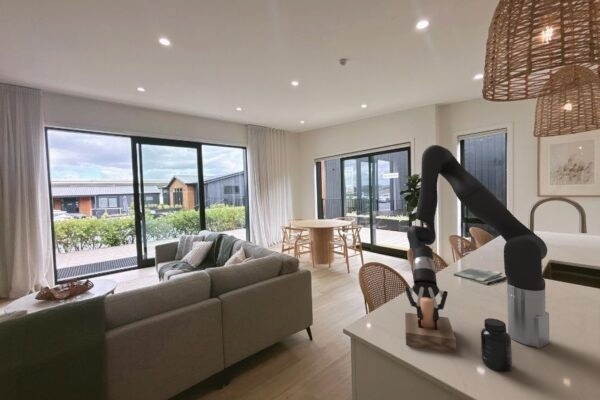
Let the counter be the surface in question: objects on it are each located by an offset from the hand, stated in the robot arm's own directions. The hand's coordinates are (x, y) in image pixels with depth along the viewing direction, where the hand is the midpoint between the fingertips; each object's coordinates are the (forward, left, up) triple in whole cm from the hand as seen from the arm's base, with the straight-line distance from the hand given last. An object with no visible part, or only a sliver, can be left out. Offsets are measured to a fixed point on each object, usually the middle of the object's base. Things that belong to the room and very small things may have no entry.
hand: (428, 320), depth 86 cm
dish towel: (+28, -71, -7) cm, 77 cm away
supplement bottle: (-17, -6, -7) cm, 19 cm away
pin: (+1, -1, -4) cm, 4 cm away
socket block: (+1, -1, -7) cm, 7 cm away
